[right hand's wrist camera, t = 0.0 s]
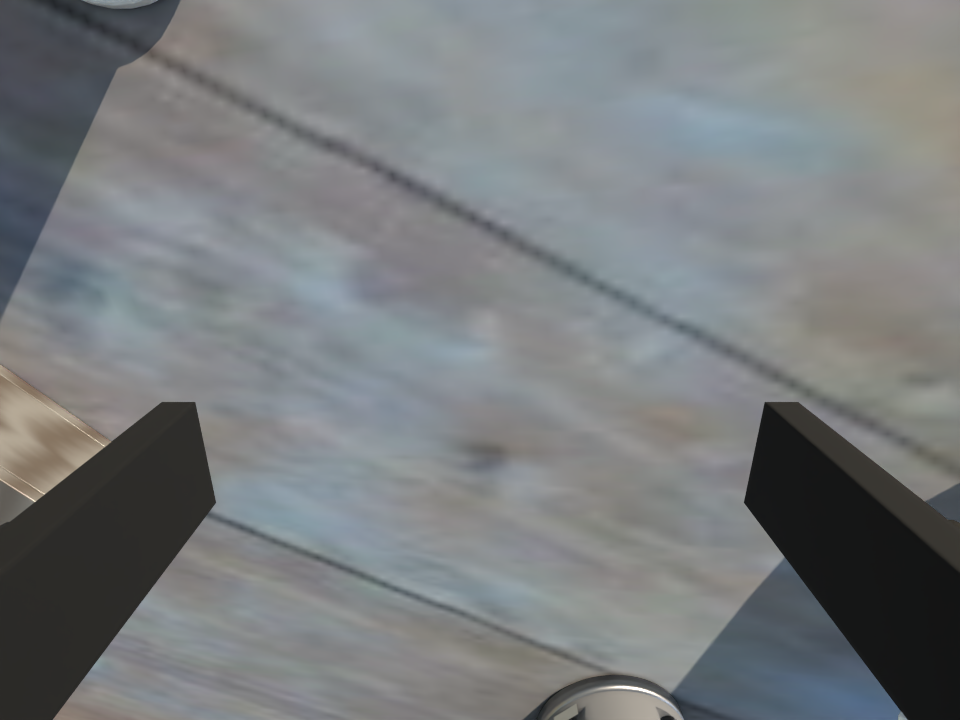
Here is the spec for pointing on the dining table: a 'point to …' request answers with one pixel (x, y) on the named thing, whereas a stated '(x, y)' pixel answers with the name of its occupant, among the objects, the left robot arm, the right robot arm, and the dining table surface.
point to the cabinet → (37, 444)
